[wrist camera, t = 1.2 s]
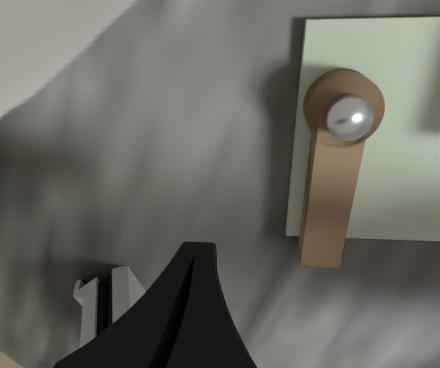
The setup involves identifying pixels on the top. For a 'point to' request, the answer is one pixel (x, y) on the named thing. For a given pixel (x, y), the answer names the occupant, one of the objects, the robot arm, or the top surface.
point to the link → (332, 168)
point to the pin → (348, 117)
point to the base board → (388, 129)
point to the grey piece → (106, 301)
